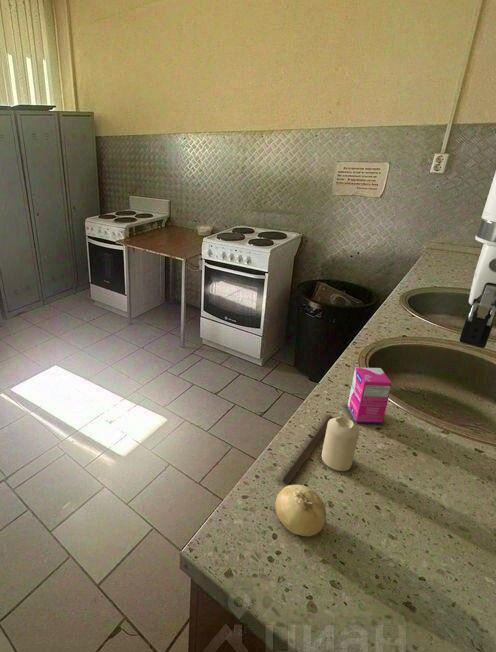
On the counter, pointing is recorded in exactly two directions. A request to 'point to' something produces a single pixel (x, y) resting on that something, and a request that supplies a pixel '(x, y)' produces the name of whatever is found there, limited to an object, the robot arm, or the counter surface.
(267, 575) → the counter surface
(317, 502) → the onion
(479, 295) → the robot arm
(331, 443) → the candle
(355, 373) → the supplement box
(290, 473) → the dark brown thin rod
